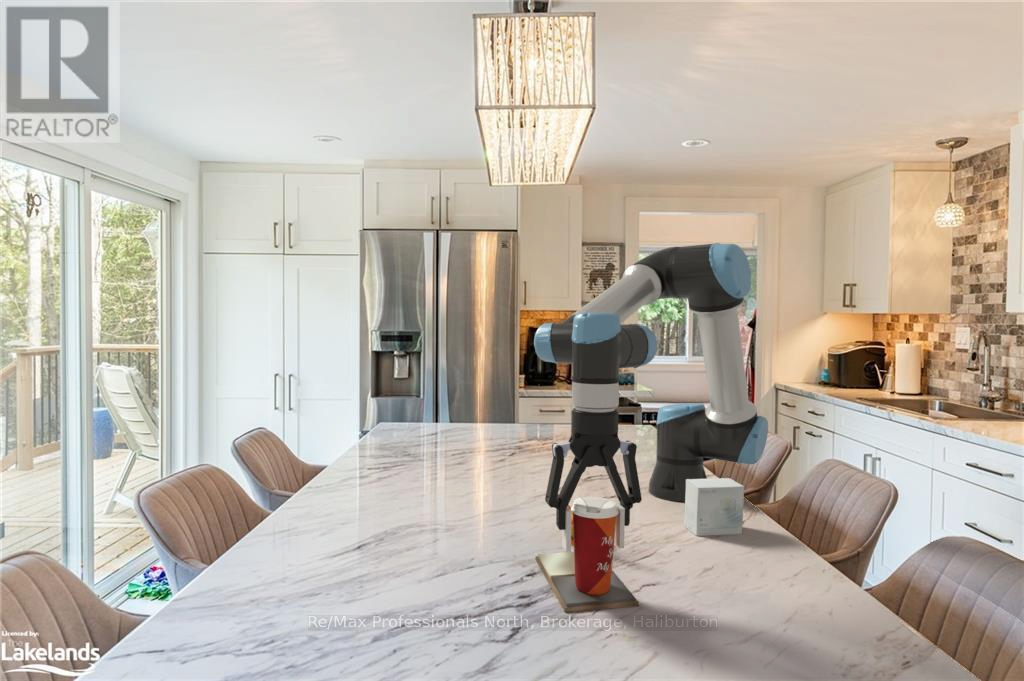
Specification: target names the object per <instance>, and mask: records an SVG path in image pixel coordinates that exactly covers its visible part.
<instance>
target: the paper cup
mask: <svg viewBox="0 0 1024 681" xmlns="http://www.w3.org/2000/svg"><path fill="white" fill-rule="evenodd" d="M570 507H571V511H572V512H573V534H574V546H573V552H574V563H575V583H576V588H577V590H579V591H580V592H582V593H585V594H589V595H602V594H606V593H607V592H609V590H610V584H611V574H612V571H613V561H614V558H613V557H614V550H615V549H614V548H615V547H614V546H615V543H614V538H615V526H616V515H618V513H619V512H618V509H617V508H616V502H615V501H614V500H612V499H609V498H605V497H600V496H583V497H578V498H576V499H574V501H573V504H572V506H570Z"/></svg>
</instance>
